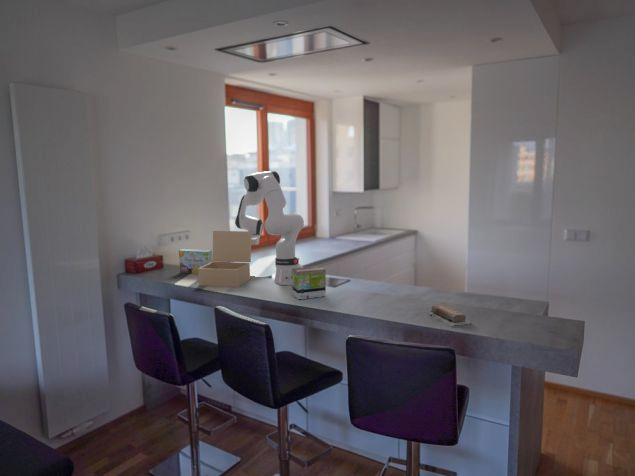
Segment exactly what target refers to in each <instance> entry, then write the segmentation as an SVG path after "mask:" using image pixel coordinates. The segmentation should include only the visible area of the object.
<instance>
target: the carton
mask: <svg viewBox="0 0 635 476" xmlns="http://www.w3.org/2000/svg"><path fill="white" fill-rule="evenodd" d="M250 268H251V267H250V262H221V261H212V262H211V263H209V264H207V265H205V266H202V267H200V268H198V274H197V275H198V285H199V286H202V287H223V288H224V287H225V288H226V287H228V288H239V287H241V286H242V285H244V284H246V283H247V282H248V281H250V280H251V270H250ZM240 285H241V286H240Z"/></svg>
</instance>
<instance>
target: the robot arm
mask: <svg viewBox="0 0 635 476" xmlns="http://www.w3.org/2000/svg"><path fill="white" fill-rule="evenodd" d="M243 183H244V184H243V185H244V188H245V190H246V194H244V195H243V196H242V197H241V199H240V202H239V207H238V209H237V213H236V214H237V215H236V218H235V220H234V225H235V226H236V227H237V229H240V230H245V231H251V246H257V245H259V244H260V238H261V234H262V232H263V230H265V232H266V233H267V234H268V235H270V236H281V237H280V239H279V240H278V241H277V242H276V243H275V260H274V264H275V274H274V275H275V277H274V283H275V284H278V285H280V286H292V268H301V267H304V266H302V265H301V264H300V263H299V260H300V257H296V242H297V238H298V235H299V233H300V232H301V230H302V229H303V227H304V225H305V221H304V218H303V217H302V216H301V214H297V213H289V214H284V210H283V209H284V208H285V207H286V205H287V200H286V197H285V194H284V192H283V190H282V188H281V186H280V184H281V177H280V174H279V173H278V172H277V171H274V170H269V171H262V172H260V171H259V172H255V173H252V174H251V173H250V174H248V175H246V176H245V177H244V179H243ZM263 201H265V203H266V207H267V211H268V213H267V215H268V216H267V218H266V219H265V221H264V223H263V221H262V219H260V218H257V217H255V216H251V215H248V214H247V213H246V212H247V211H246V210H247V207H249V206H257V205H259V204H261V203H262V202H263Z"/></svg>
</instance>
